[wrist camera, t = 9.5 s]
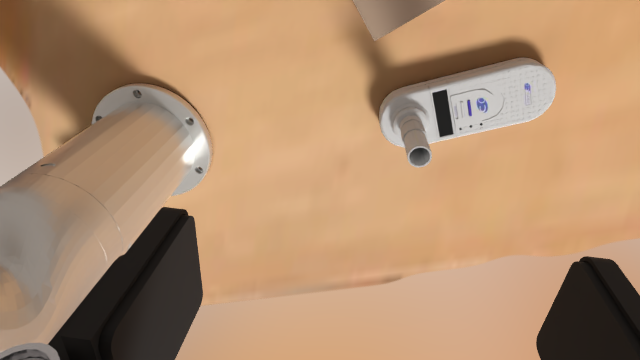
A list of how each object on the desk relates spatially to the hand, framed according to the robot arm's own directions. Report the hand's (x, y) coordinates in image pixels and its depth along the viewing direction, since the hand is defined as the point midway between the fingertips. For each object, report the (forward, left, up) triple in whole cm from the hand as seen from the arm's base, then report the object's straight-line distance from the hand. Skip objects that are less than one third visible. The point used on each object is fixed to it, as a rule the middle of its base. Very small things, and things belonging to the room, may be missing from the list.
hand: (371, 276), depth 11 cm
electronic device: (+4, -9, -31) cm, 32 cm away
